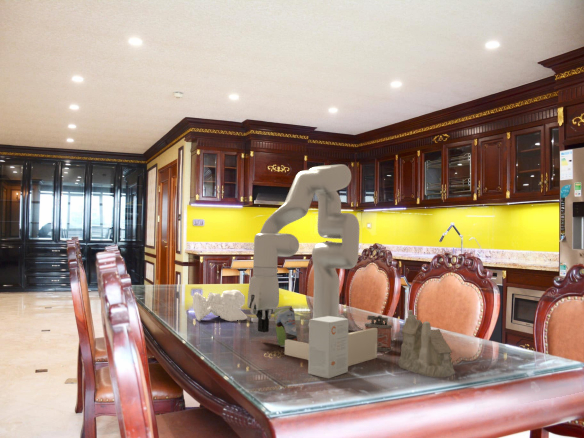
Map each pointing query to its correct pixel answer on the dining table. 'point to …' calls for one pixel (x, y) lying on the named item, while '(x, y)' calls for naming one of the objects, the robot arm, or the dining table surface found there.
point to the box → (359, 347)
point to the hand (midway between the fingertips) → (263, 331)
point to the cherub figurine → (220, 305)
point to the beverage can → (285, 324)
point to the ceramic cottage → (424, 349)
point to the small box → (328, 346)
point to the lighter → (381, 331)
